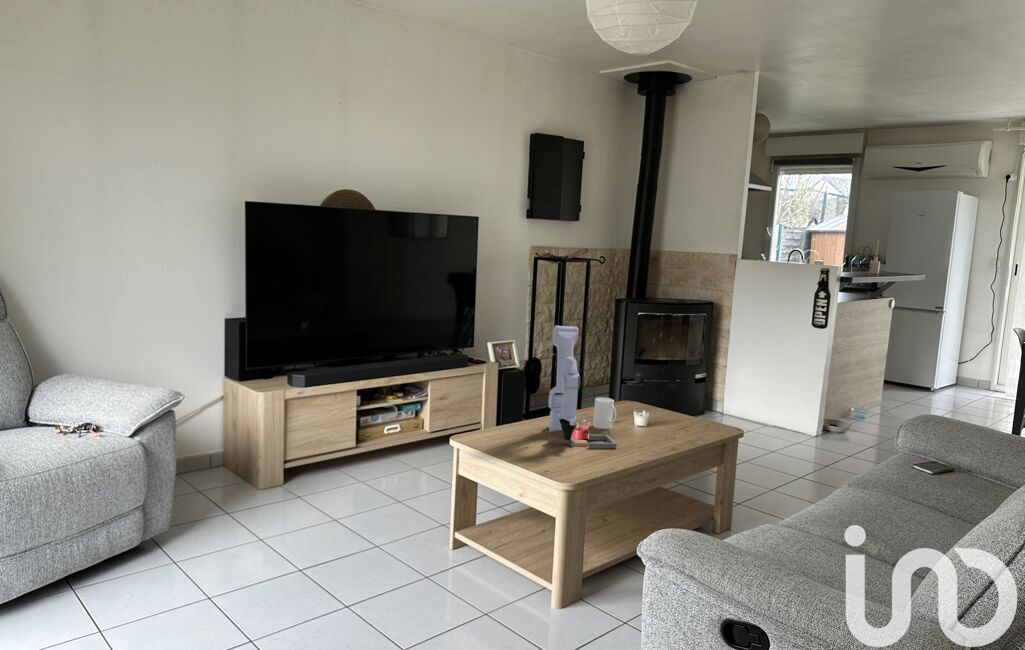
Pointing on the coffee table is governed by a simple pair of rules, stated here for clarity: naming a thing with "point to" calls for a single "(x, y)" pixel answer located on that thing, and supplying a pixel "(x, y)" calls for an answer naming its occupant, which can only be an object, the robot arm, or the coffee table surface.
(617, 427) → the coffee table surface
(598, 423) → the mug
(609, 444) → the frame
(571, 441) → the plank on grey base
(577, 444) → the tile
